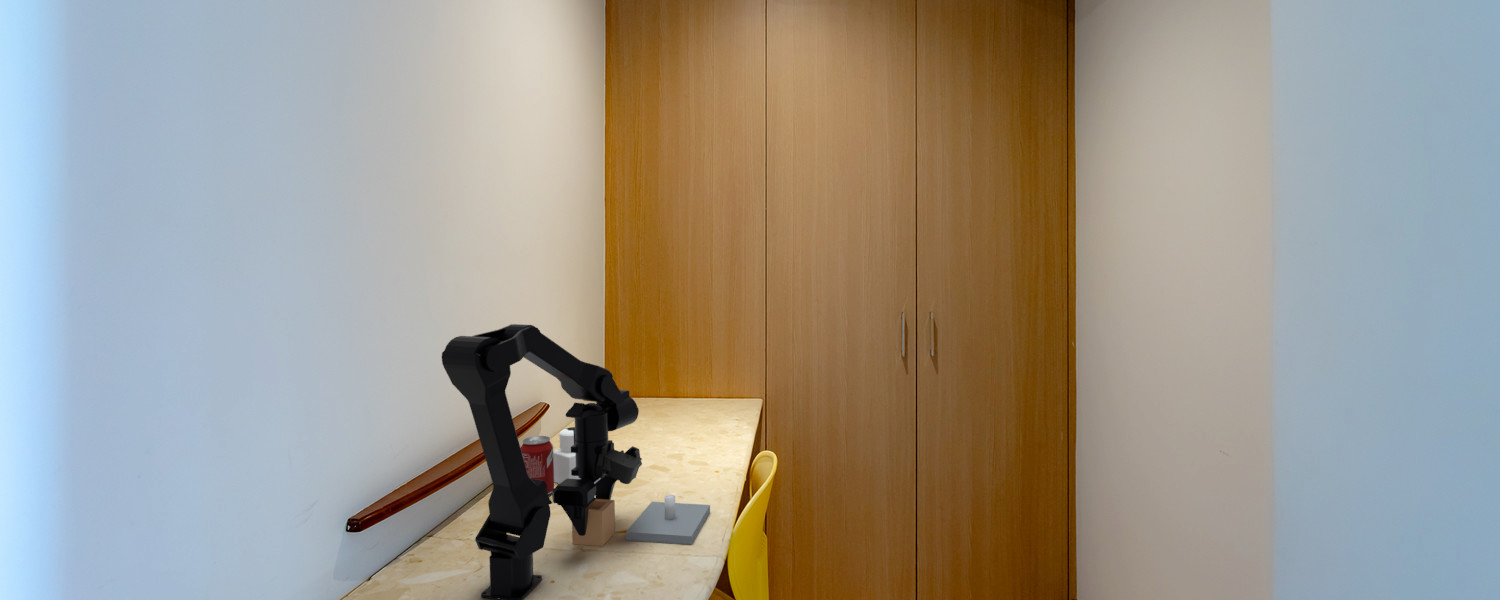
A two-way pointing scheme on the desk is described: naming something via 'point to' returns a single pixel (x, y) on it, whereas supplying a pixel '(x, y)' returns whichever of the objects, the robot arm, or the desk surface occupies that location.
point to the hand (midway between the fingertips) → (593, 523)
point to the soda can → (539, 459)
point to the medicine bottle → (565, 456)
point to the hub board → (669, 522)
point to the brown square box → (597, 524)
